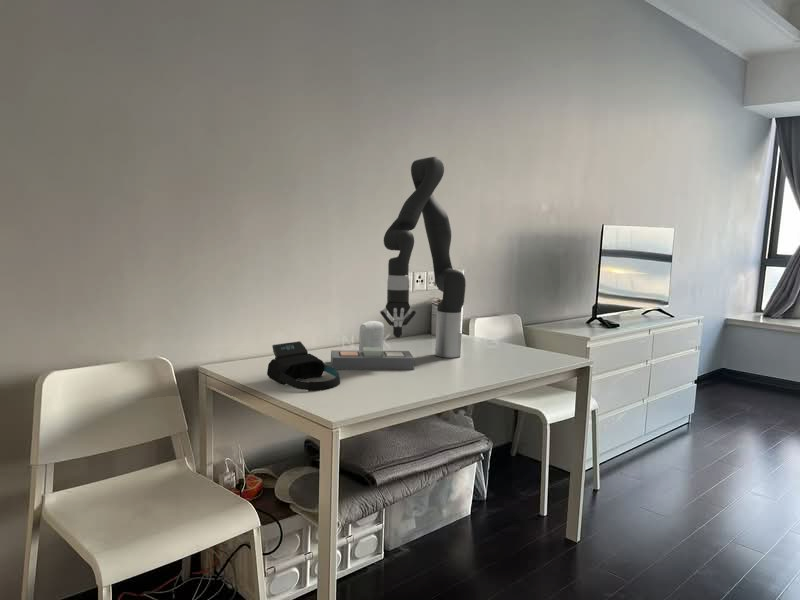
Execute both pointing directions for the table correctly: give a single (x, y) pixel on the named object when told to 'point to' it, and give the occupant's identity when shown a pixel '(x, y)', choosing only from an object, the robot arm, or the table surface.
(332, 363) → the panel
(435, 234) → the robot arm
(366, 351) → the sage key
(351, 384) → the table surface
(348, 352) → the terracotta key
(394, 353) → the cream key
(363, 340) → the photo printer
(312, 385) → the virtual reality headset
